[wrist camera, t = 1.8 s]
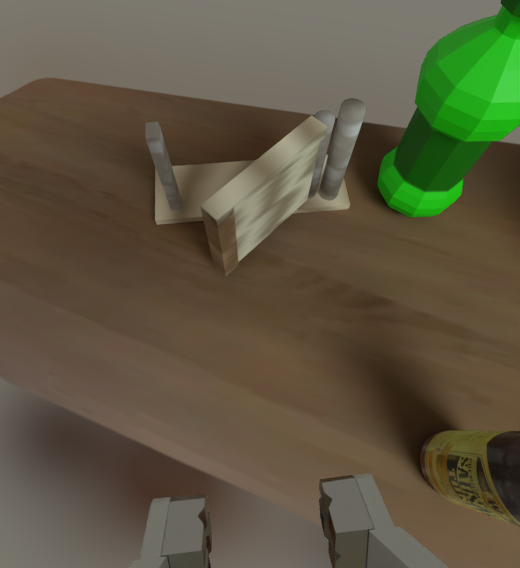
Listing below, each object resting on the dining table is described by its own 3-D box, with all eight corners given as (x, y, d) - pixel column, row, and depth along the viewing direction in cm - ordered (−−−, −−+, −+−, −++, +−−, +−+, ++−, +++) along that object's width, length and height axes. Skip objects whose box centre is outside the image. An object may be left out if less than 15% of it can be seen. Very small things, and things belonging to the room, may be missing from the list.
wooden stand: (336, 159, 50) (365, 62, 38) (348, 208, 47) (383, 122, 34) (157, 172, 49) (122, 76, 36) (157, 224, 46) (119, 140, 33)
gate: (307, 181, 47) (323, 105, 36) (319, 191, 46) (339, 116, 36) (213, 265, 42) (200, 205, 32) (225, 276, 42) (216, 219, 31)
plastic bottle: (464, 202, 48) (658, -18, 25) (408, 246, 45) (567, 46, 22) (406, 153, 51) (533, -84, 28) (351, 192, 48) (439, -34, 25)
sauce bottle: (402, 454, 36) (553, 467, 18) (449, 418, 38) (633, 395, 20) (450, 520, 34) (674, 610, 16) (497, 479, 36) (753, 518, 17)
